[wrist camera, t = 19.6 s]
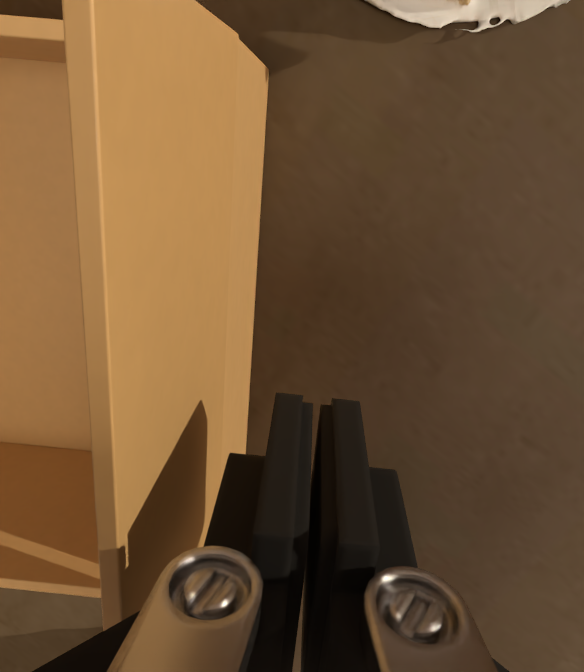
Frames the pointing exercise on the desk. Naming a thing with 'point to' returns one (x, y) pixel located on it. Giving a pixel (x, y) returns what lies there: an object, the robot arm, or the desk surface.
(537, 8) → the frog figurine
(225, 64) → the flap
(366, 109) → the desk surface
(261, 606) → the robot arm
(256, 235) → the carton
